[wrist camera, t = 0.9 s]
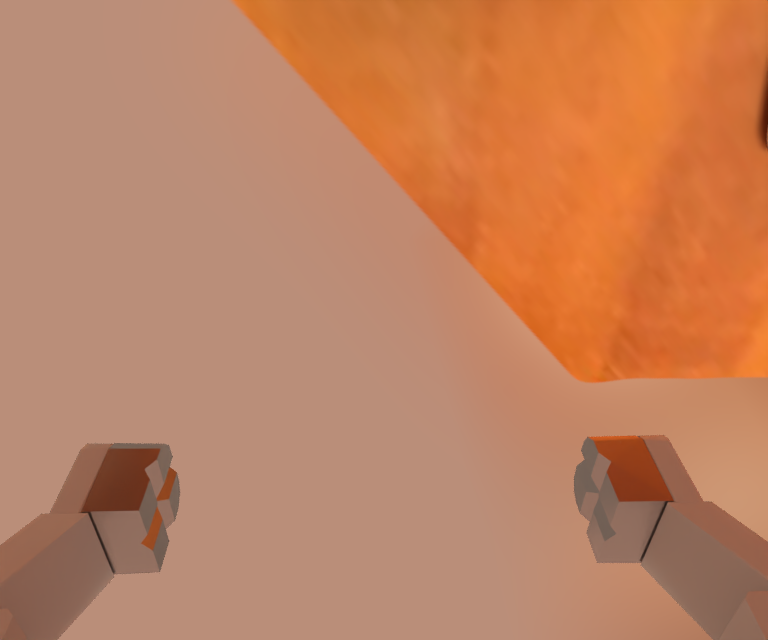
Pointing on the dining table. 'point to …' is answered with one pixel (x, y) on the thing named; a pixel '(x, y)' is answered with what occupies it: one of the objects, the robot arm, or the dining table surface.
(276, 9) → the dining table surface
